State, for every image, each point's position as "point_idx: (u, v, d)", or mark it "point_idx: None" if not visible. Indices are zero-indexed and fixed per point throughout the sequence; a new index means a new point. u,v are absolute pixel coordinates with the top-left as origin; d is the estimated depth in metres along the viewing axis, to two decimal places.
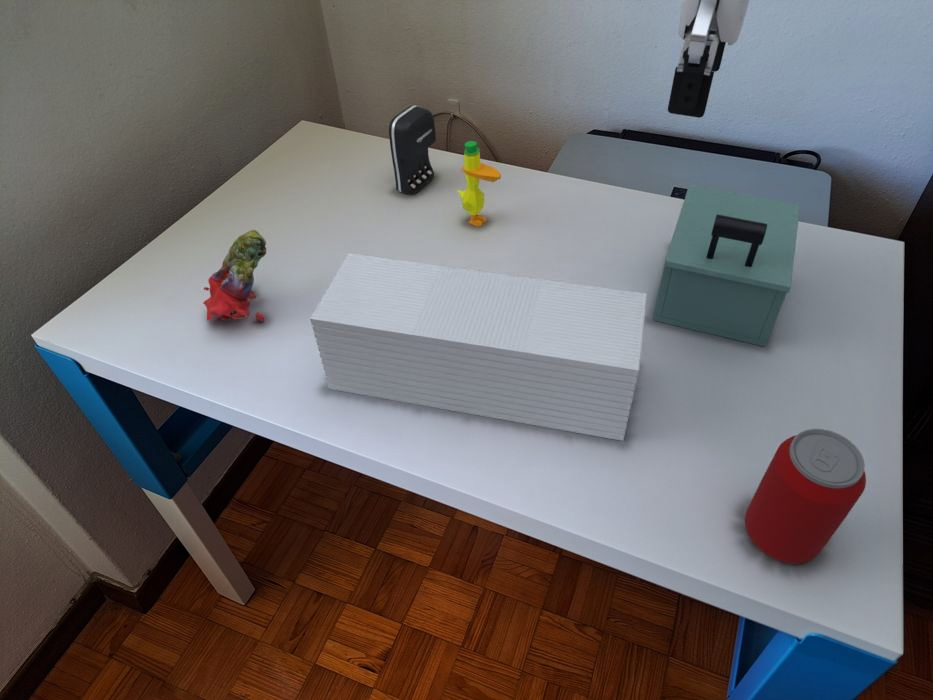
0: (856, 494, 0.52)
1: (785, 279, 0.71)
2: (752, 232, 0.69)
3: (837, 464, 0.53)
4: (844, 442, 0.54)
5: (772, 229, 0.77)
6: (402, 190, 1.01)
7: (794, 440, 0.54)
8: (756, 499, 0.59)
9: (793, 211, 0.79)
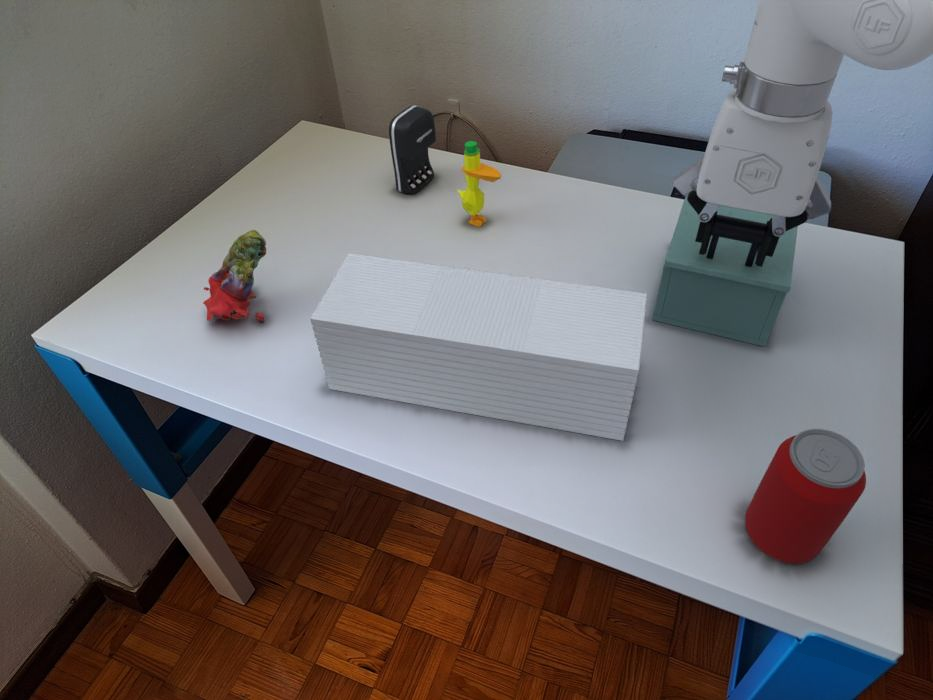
0: (856, 493, 0.52)
1: (785, 279, 0.71)
2: (752, 232, 0.69)
3: (837, 464, 0.53)
4: (844, 442, 0.54)
5: None
6: (402, 190, 1.01)
7: (794, 440, 0.54)
8: (756, 499, 0.59)
9: None
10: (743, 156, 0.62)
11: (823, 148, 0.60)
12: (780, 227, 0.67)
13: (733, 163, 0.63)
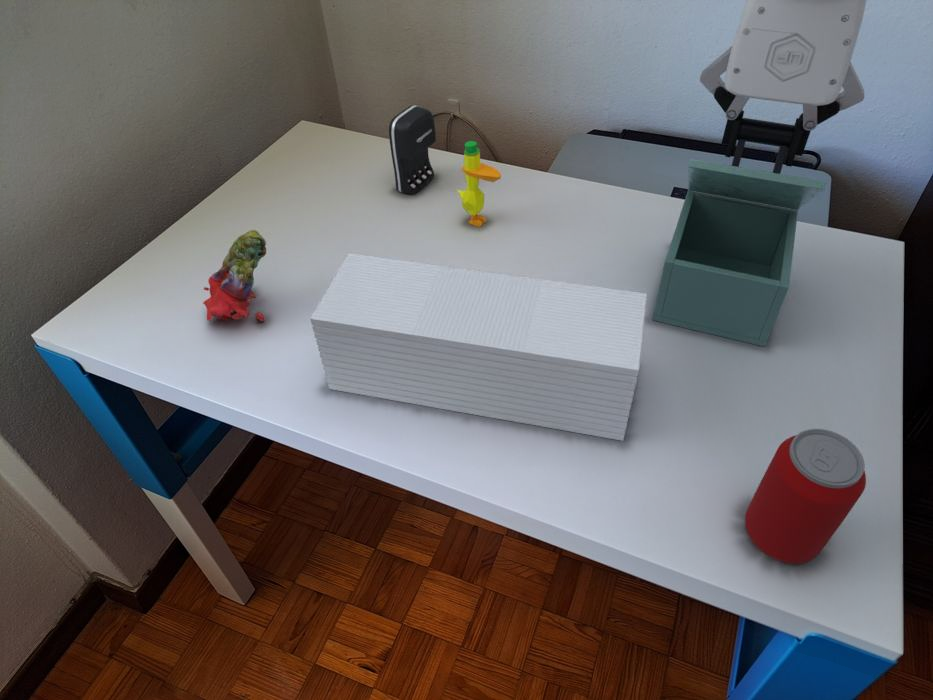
0: (856, 494, 0.52)
1: None
2: (782, 126, 0.67)
3: (837, 464, 0.53)
4: (844, 442, 0.54)
5: None
6: (402, 190, 1.01)
7: (794, 440, 0.54)
8: (756, 499, 0.59)
9: None
10: (775, 38, 0.60)
11: (858, 24, 0.58)
12: (811, 120, 0.65)
13: (764, 47, 0.61)
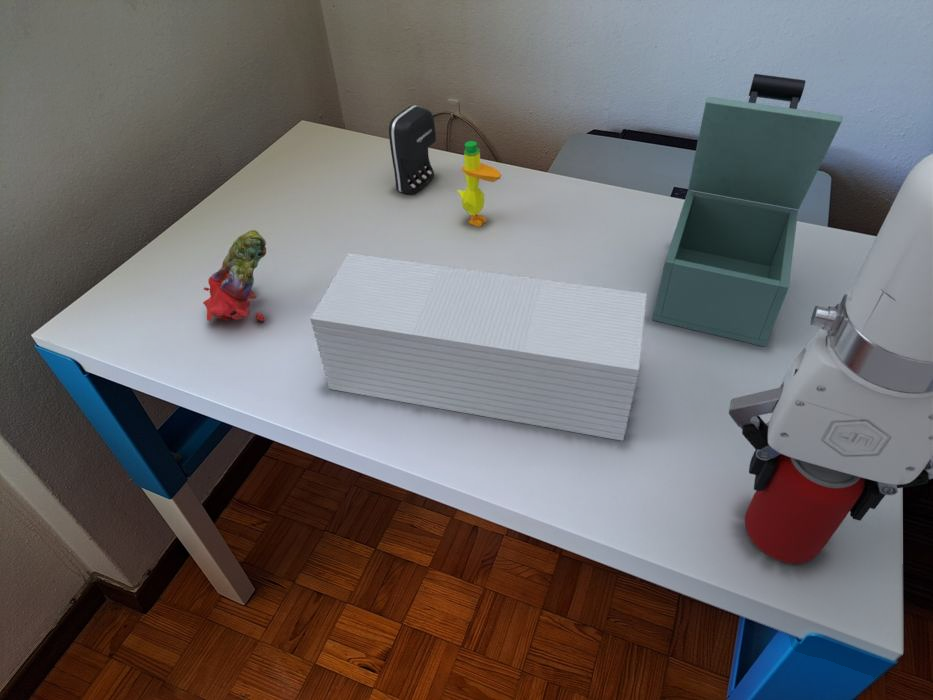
0: (856, 493, 0.52)
1: None
2: (793, 79, 0.70)
3: None
4: None
5: None
6: (402, 190, 1.01)
7: None
8: (756, 499, 0.59)
9: None
10: (837, 418, 0.47)
11: None
12: (889, 486, 0.51)
13: (822, 423, 0.47)
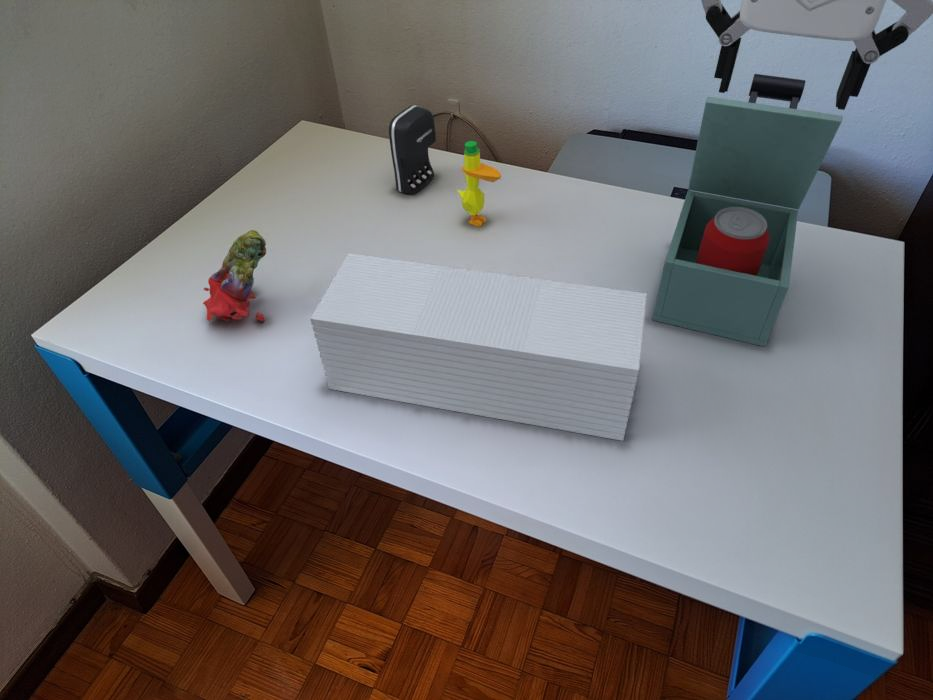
0: (761, 245, 0.72)
1: None
2: (793, 79, 0.70)
3: (747, 226, 0.73)
4: (755, 214, 0.74)
5: None
6: (402, 190, 1.01)
7: (718, 213, 0.74)
8: None
9: None
10: None
11: None
12: (870, 50, 0.54)
13: None
